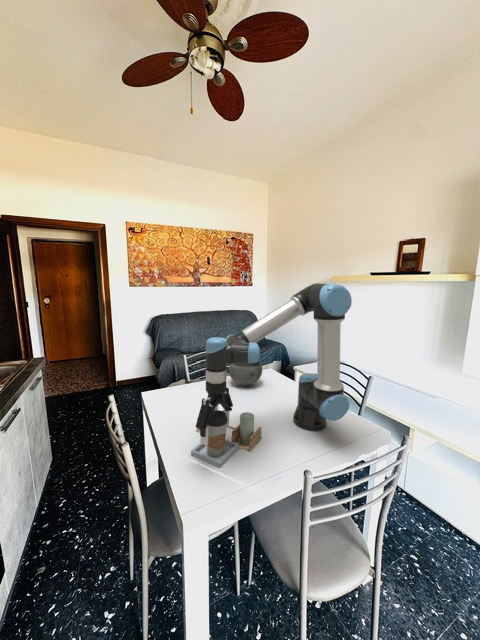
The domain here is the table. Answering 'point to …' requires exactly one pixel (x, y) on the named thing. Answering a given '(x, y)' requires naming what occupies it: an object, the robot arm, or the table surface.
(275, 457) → the table surface
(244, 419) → the jar
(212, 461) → the tray
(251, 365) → the bowl
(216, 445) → the coffee cup
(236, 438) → the caddy
